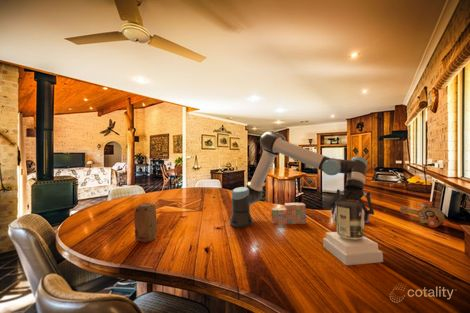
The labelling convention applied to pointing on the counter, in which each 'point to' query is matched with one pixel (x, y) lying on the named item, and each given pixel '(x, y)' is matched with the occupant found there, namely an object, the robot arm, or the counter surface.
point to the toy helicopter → (426, 214)
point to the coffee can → (349, 219)
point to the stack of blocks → (289, 214)
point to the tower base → (353, 256)
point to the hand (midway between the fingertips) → (347, 224)
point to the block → (145, 222)
